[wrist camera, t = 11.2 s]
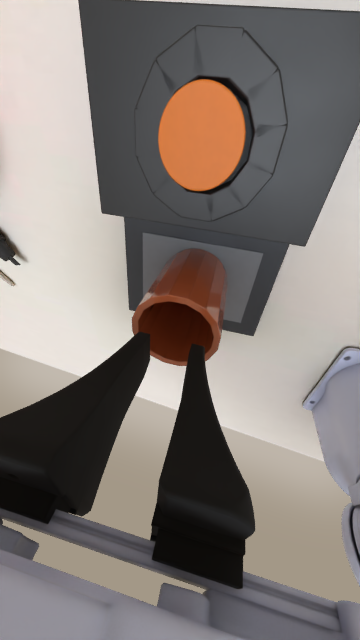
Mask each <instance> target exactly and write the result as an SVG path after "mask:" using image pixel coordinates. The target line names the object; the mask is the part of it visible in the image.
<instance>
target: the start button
mask: <svg viewBox="0 0 360 640" xmlns="http://www.w3.org/2000/svg"><path fill="white" fill-rule="evenodd" d="M245 134H246V130H245V120H244V115H243V112H242V109H241V106H240V104H239V102H238V100H237V99H236V97H235V96H234V94H233V93H232V92H231V91H230V90H229V89H228V88H227V87H226V86H224V85H223V84H221V83H219V82H216V81H214V80H209V79H200V80H195V81H192V82H190V83H188V84H186V85H184V86H183V87H181V88H180V89H179V90H178V91H177V92H176V93H175V94H174V95H173V96H172V97H171V99H170V100H169V102H168V103H167V105H166V107H165V109H164V112H163V114H162V117H161V121H160V125H159V133H158V145H159V152H160V156H161V159H162V162H163V165H164V167H165V169H166V171H167V172H168V174H169V175H170V176H171V178H172V179H173V180H174V181H175V182H176V183H178V184H179V185H180V186H182V187H184V188H186V189H189V190H193V191H206V190H210V189H213V188H215V187H217V186H219V185H220V184H222V183H223V182H224V181H225V180H226V179H227V178H228V177H229V176H230V175H231V174H232V173H233V171H234V170H235V168H236V167H237V165H238V163H239V161H240V158H241V156H242V153H243V149H244V144H245Z"/></svg>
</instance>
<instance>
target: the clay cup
mask: <svg viewBox="0 0 360 640" xmlns="http://www.w3.org/2000/svg"><path fill="white" fill-rule="evenodd" d="M227 283H228V282H227V273H226V270H225V268H224V266H223V264H222V263H221V261H220V260H219V259H218V258H217V257H216V256H214V255H213V254H212V253H210V252H208V251H205V250H202V249H195V248H193V249H185V250H182V251H180V252H178V253H176V254H175V255H173V256H172V257H171V258H170V259H169V260H168V262H167V263H166V265H165V266H164V268H163V269H162V271H161V272H160V274H159V275H158V277H157V278H156V280H155V281H154V283H153V284H152V286H151V287H150V289H149V290H148V292H147V293H146V295H145V296H144V298H143V299H142V301H141V302H140V304H139V305H138V307H137V309H136V311H135V313H134V315H133V317H132V331H133V334H134V335H136V334H137V333H138V332H143V333H148V334H150V355H151V356H153V357H155V358H157V359H159V360H160V361H162V362H165V363H169V364H173V365H177V366H187V361H188V355H189V351H190V348H191V345H192V344H197V345H201V346H204V347H205V361H207V360H208V359H209V358H210V357H211V356H212V355H213V354H214V353H215V352H216V351H217V350H218V347H219V343H220V339H221V333H222V325H223V317H224V309H225V300H226V292H227Z"/></svg>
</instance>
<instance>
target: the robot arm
mask: <svg viewBox="0 0 360 640" xmlns="http://www.w3.org/2000/svg"><path fill="white" fill-rule="evenodd" d="M346 356H348V357H346ZM149 361H150V334H148V333H143V332H138V333H137V334H136V335H135V336H134V337H133V338H131V339H130V340H129V341H128V342H127V343H126V344H125V345H124V346H123V347H122V348H120V349H119V350H118V351H117V352H116V353H114V354H113V355H112V356H111V357H110V358H108V359H107V360H106V361H104V362H103V363H102V364H100V365H99V366H98V367H96V368H95V369H94V370H92V371H91V372H89V373H88V374H86V375H85V376H83V377H82V378H80V379H79V380H77V381H75V382H74V383H72V384H70V385H69V386H67V387H65V388H63V389H62V390H60V391H58V392H56V393H54V394H52V395H50V396H48V397H46V398H44V399H42V400H40V401H38V402H36V403H34V404H32V405H30V406H27V407H25V408H23V409H20V410H18V411H16V412H13V413H11V414H8V415H6V416H3V417H1V418H0V640H360V604H359V603H355V602H351V601H338V602H334V601H331V600H328V599H325V598H322V597H319V596H316V595H312V594H310V593H307V592H304V591H301V590H298V589H295V588H292V587H288V586H286V585H283V584H279V583H277V582H274V581H271V580H268V579H264V578H262V577H259V576H256V575H252V574H250V573H247V572H243V556H244V555H245V539H247V538H248V537H249V536H251V535H252V534H253V533H254V531H255V519H254V512H253V506H252V501H251V497H250V493H249V489H248V487H247V485H246V483H245V481H244V479H243V478H242V475H241V473H240V471H239V469H238V467H237V465H236V463H235V461H234V458H233V456H232V454H231V452H230V449H229V447H228V445H227V442H226V440H225V437H224V435H223V432H222V430H221V427H220V424H219V421H218V418H217V415H216V412H215V409H214V405H213V402H212V398H211V394H210V390H209V385H208V380H207V374H206V367H205V347H204V346H201V345H197V344H192V345H191V348H190V351H189V355H188V361H187V367H186V373H185V379H184V385H183V391H182V398H181V403H180V407H179V410H178V414H177V418H176V422H175V426H174V429H173V433H172V436H171V440H170V444H169V448H168V451H167V455H166V458H165V462H164V465H163V469H162V473H161V476H160V479H159V487H158V497H157V504H156V508H155V512H154V516H153V520H152V524H151V525H152V533H151V539H150V540H147V539H144V538H141V537H138V536H135V535H132V534H129V533H126V532H123V531H120V530H117V529H114V528H111V527H108V526H105V525H102V524H99V523H96V522H93V521H90V520H87V519H84V518H81V517H78V516H75V515H79V516H84V515H85V514H87V513H88V512H89V511H91V508H92V505H93V502H94V499H95V496H96V493H97V490H98V487H99V484H100V481H101V478H102V475H103V473H104V470H105V467H106V464H107V461H108V458H109V456H110V452H111V450H112V447H113V445H114V442H115V439H116V437H117V434H118V431H119V429H120V426H121V424H122V421H123V419H124V417H125V414H126V412H127V410H128V408H129V406H130V404H131V402H132V400H133V398H134V396H135V394H136V392H137V390H138V388H139V386H140V384H141V382H142V380H143V378H144V375H145V373H146V370H147V367H148V364H149ZM303 408H304V409H307V410H311V411H312V413H313V417H314V421H315V425H316V429H317V433H318V437H319V441H320V445H321V449H322V452H323V456H324V460H325V463H326V466H327V469H328V470H329V472H330V474H331V476H332V477H333V479H334V480H335V482H336V483H337V484H338V485H339V486H340V488H341V489H342V490H343V491H344V492H345V493H346V494H348V495H349V496H350V497H351V501H352V503H349V504H348V505H347V506H346V507H345V508H344V511H343V514H342V537H343V543H344V548H345V552H346V555H347V558H348V561H349V564H350V567H351V569H352V571H353V574H354V576H355V578H356V580H357V582H358V584H359V586H360V349H355V348H346V349H344V350H343V351H342V353H341V354H340V355H339V357H338V358H337V359H336V361H335V362H334V363H333V365H332V366H331V367H330V369H329V370H328V371H327V372H326V374H325V375H324V376H323V378H322V379H321V380H320V382H319V383H318V384H317V386H316V387H315V388H314V390H313V391H312V392H311V394H310V395H309V396H308V397H307V399H306V400H305V401H304V403H303ZM69 513H72V514H74V515H72V514H69ZM2 519H4V520H7V521H10V522H13V523H16V524H19V525H22V526H24V527H27V528H30V529H33V530H36V531H39V532H42V533H45V534H47V535H50V536H54V537H57V538H59V539H62V540H65V541H68V542H70V543H73V544H76V545H79V546H82V547H85V548H88V549H91V550H94V551H96V552H100V553H102V554H105V555H108V556H111V557H114V558H117V559H119V560H122V561H125V562H128V563H131V564H134V565H137V566H140V567H142V568H145V569H148V570H151V571H154V572H157V573H160V574H163V575H165V576H168V577H171V578H174V579H177V580H180V581H183V582H186V583H188V584H191V585H195V586H197V587H200V588H203V589H206V591H205V592H204V593H203V594H200V593H198V592H195V591H192V590H188V589H185V588H181V587H178V586H174V585H171V584H167V583H163V584H162V585H161V589H160V594H159V600H158V604H157V607H156V606H154V605H151V604H148V603H146V602H143V601H140V600H137V599H135V598H132V597H130V596H127V595H124V594H122V593H119V592H116V591H113V590H111V589H108V588H106V587H103V586H100V585H98V584H95V583H92V582H89V581H87V580H84V579H81V578H79V577H76V576H73V575H70V574H68V573H65V572H62V571H59V570H57V569H54V568H51V567H48V566H46V565H43V564H40V563H38V562H35V561H32V559H33V557H34V555H35V553H36V551H37V549H38V547H39V544H38V543H36V542H35V541H33V540H31V539H29V538H27V537H25V536H24V535H23V534H22V533H20V532H18V531H15V530H13V529H11V528H8V527H6V526H3V525H2V524H3V521H2Z"/></svg>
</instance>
